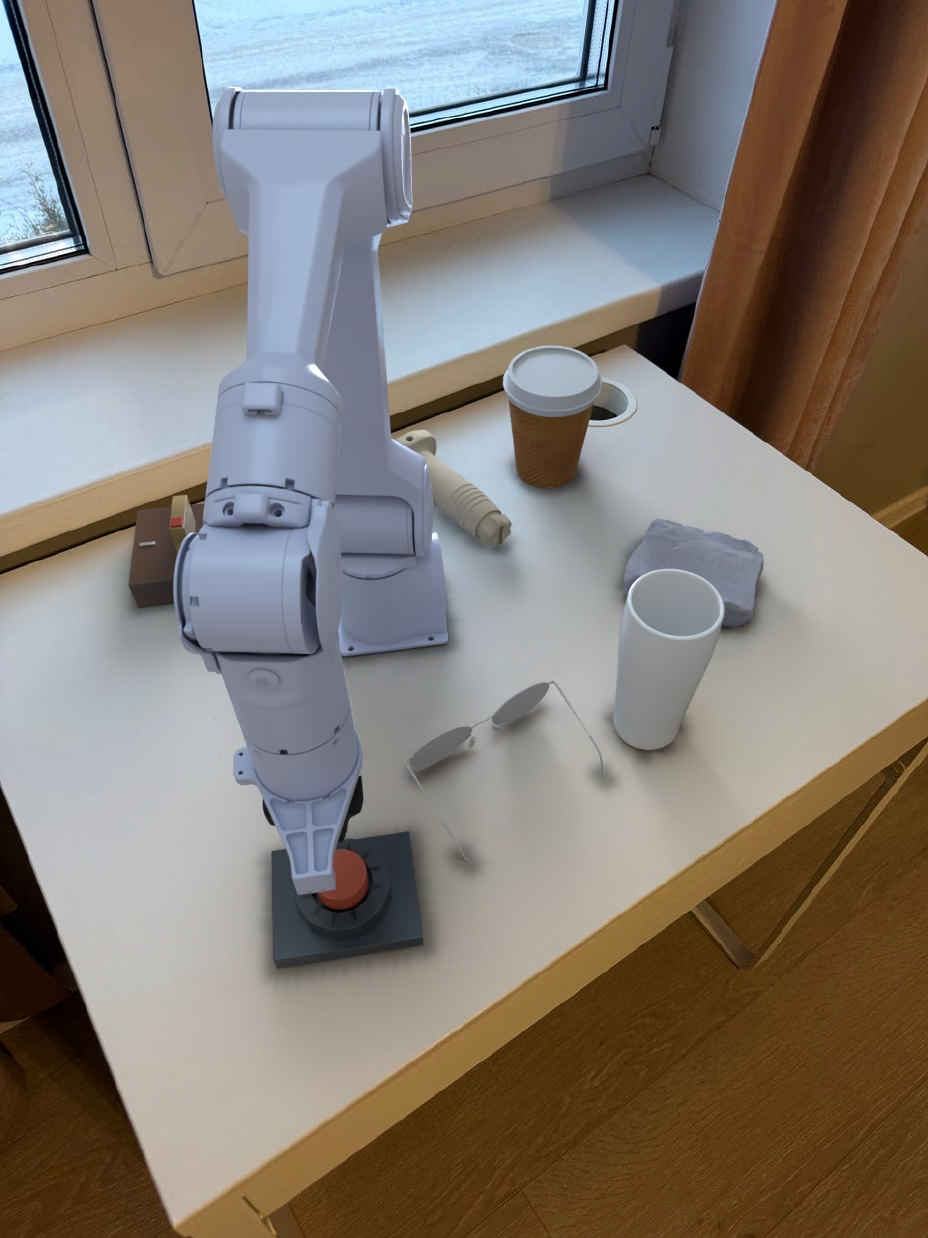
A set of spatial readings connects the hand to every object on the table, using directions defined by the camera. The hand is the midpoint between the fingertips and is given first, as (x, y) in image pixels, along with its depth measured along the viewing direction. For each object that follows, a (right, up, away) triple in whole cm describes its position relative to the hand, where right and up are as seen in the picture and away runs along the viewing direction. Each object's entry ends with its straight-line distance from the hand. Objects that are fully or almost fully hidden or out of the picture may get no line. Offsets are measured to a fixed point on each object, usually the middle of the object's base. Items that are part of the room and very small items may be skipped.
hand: (327, 834), depth 56 cm
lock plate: (-17, +19, +29) cm, 39 cm away
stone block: (+30, +17, +27) cm, 44 cm away
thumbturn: (-17, +21, +27) cm, 38 cm away
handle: (+12, +21, +29) cm, 38 cm away
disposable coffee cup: (+17, +29, +38) cm, 51 cm away
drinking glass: (+23, +5, +16) cm, 29 cm away
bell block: (0, -6, +7) cm, 9 cm away
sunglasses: (+12, +1, +13) cm, 18 cm away
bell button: (0, -5, +5) cm, 7 cm away
